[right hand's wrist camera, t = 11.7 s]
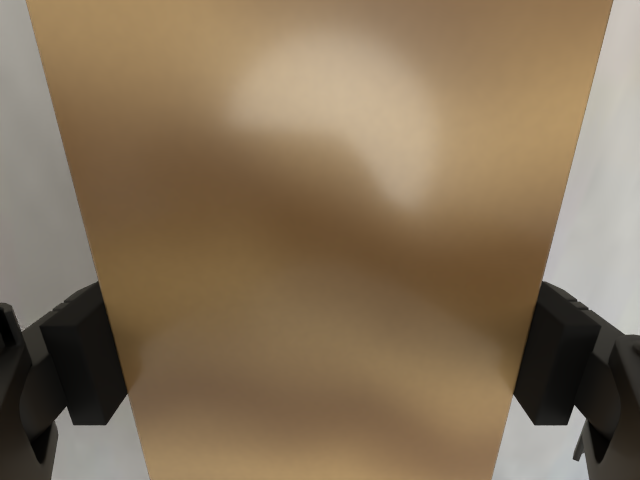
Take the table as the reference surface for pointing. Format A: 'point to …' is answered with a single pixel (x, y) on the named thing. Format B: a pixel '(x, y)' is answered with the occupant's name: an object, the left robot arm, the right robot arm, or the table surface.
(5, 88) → the table surface
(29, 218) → the table surface
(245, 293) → the wooden beam
